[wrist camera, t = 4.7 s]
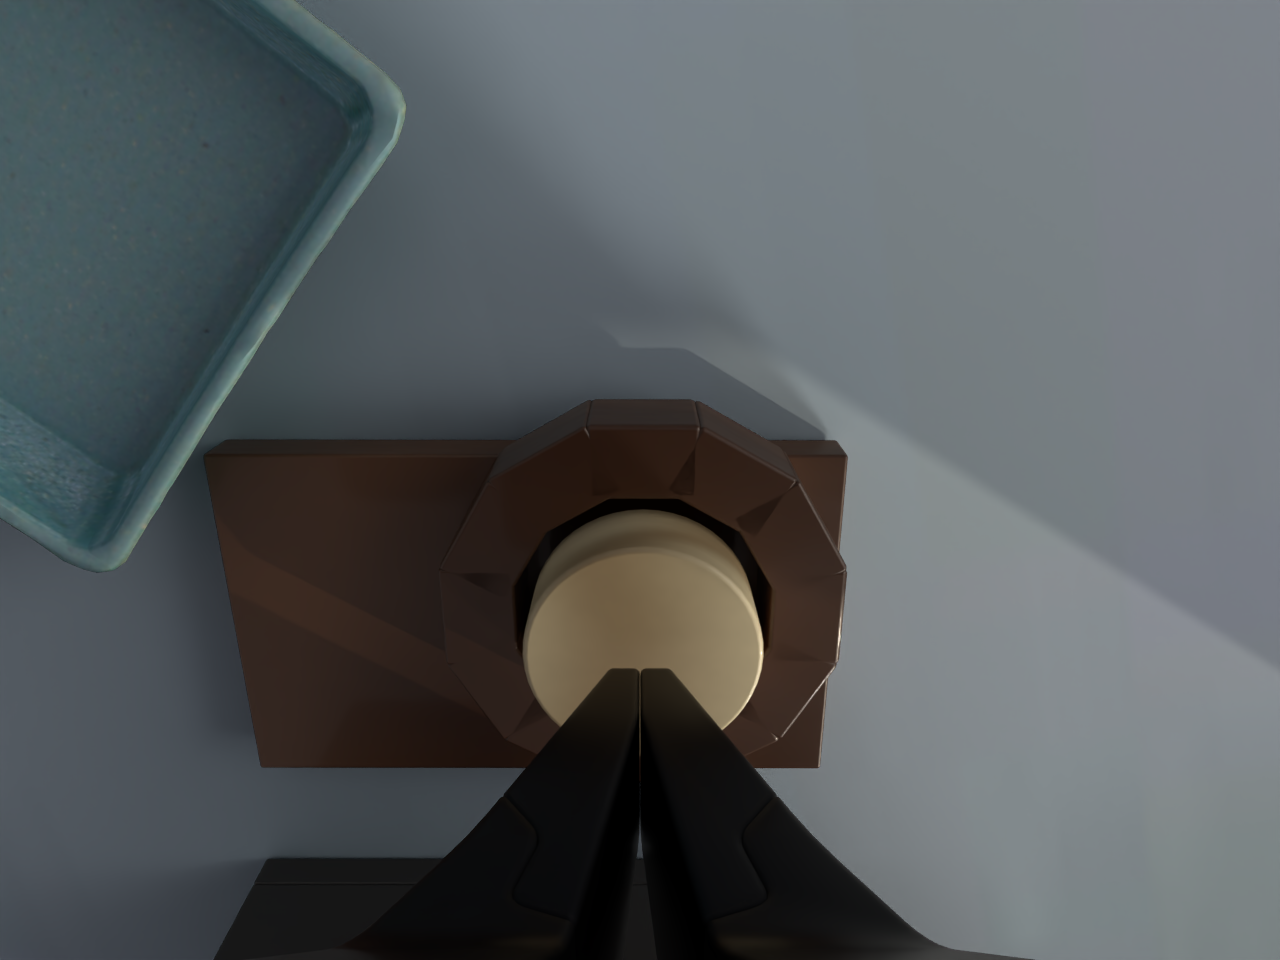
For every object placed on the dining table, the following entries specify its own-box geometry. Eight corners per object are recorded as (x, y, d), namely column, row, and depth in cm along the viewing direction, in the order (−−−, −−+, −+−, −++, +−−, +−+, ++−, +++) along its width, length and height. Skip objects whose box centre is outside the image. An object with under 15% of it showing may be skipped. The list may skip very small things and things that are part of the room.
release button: (756, 507, 14) (771, 548, 12) (747, 700, 15) (758, 758, 13) (529, 507, 14) (516, 548, 12) (538, 700, 15) (527, 758, 13)
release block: (842, 385, 15) (879, 426, 13) (811, 740, 18) (838, 829, 15) (216, 384, 15) (137, 424, 13) (278, 740, 18) (222, 828, 15)
